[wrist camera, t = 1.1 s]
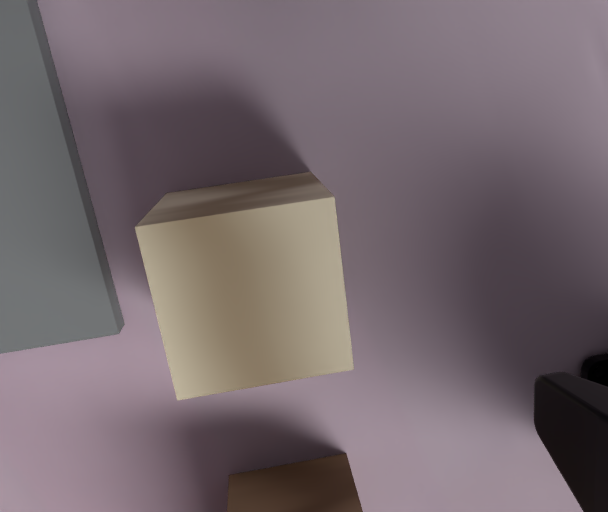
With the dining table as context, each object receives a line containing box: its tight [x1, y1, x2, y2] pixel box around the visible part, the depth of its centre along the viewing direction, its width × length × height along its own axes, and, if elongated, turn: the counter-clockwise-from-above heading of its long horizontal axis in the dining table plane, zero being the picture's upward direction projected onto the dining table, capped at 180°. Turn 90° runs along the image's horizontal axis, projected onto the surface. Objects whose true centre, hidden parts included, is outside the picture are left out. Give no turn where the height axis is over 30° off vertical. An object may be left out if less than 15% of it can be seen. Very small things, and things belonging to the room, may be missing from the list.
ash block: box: [135, 172, 354, 400], centre depth 15 cm, size 5×5×5 cm
